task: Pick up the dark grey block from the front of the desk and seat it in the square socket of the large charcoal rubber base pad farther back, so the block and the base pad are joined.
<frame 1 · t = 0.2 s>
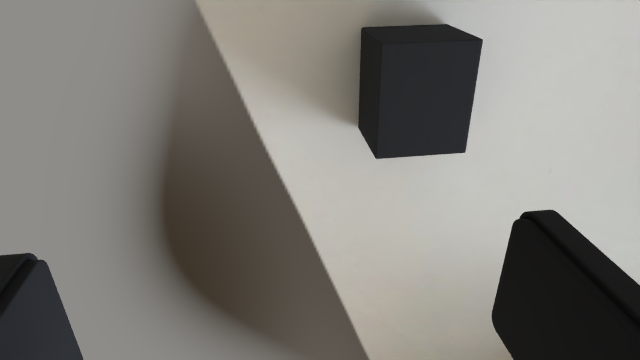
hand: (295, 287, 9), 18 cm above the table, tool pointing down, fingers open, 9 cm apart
dark grey block: (400, 78, 26), on the table
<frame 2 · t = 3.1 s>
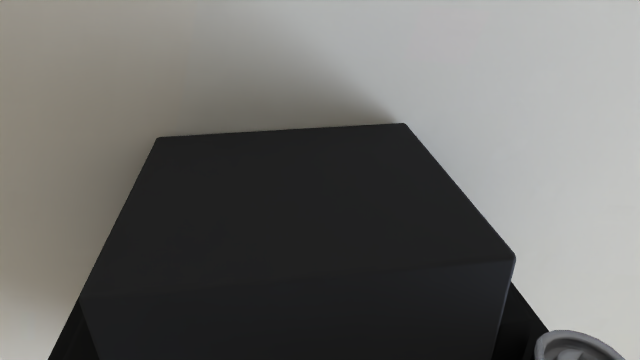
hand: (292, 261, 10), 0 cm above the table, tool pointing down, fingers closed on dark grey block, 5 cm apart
dark grey block: (290, 249, 10), on the table, touching gripper
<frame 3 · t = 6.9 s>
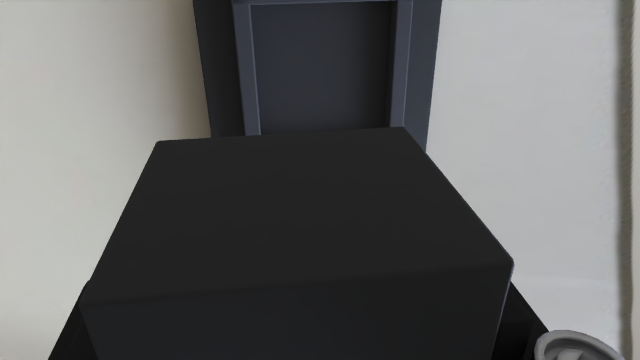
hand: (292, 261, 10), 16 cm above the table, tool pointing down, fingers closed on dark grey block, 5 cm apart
dark grey block: (290, 252, 10), point 15 cm above the table, touching gripper
base pad: (321, 142, 26), on the table
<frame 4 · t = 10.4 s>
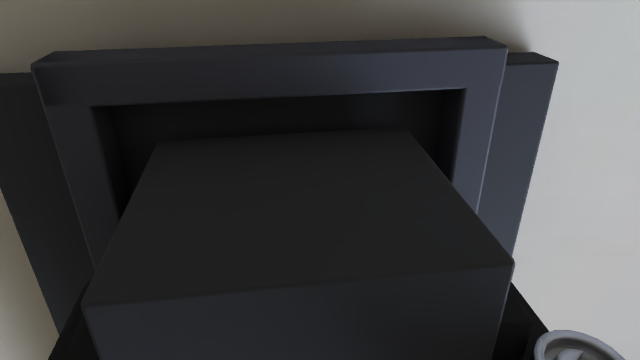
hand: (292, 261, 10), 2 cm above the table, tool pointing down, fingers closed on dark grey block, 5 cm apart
dark grey block: (291, 252, 10), point 2 cm above the table, touching gripper
base pad: (293, 325, 14), on the table
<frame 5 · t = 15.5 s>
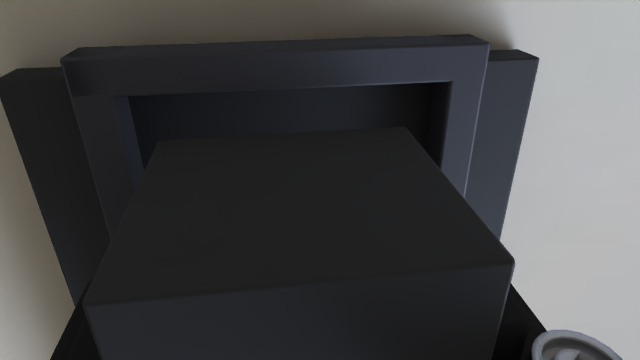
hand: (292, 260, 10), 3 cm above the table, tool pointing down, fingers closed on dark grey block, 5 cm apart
dark grey block: (291, 251, 10), point 2 cm above the table, touching gripper
base pad: (294, 307, 14), on the table
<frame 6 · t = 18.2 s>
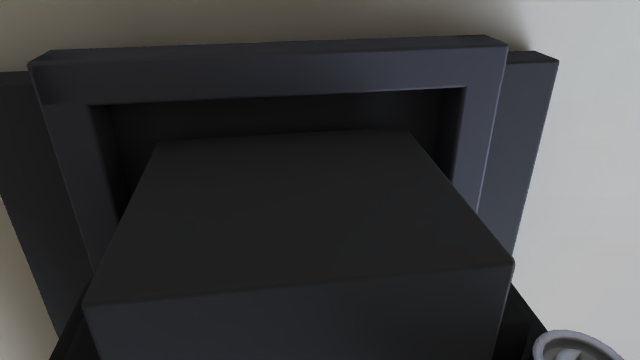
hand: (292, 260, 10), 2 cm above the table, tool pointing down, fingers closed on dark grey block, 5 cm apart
dark grey block: (291, 252, 10), point 1 cm above the table, touching gripper
base pad: (292, 325, 13), on the table
when the fingers open (4 cm above the table, at t = 20.4 s): dark grey block drops 2 cm, resting on base pad.
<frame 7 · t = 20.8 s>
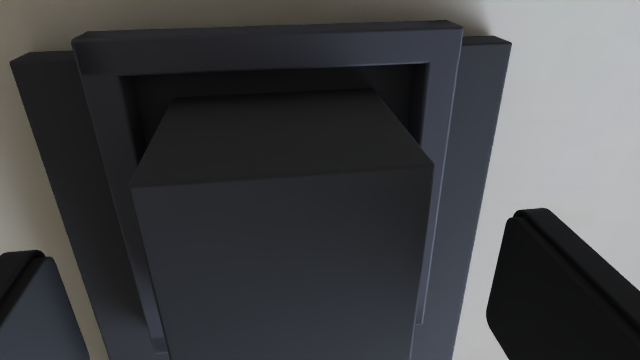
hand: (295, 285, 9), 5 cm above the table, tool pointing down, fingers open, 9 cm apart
dark grey block: (281, 195, 12), point 1 cm above the table, touching base pad
base pad: (288, 281, 15), on the table
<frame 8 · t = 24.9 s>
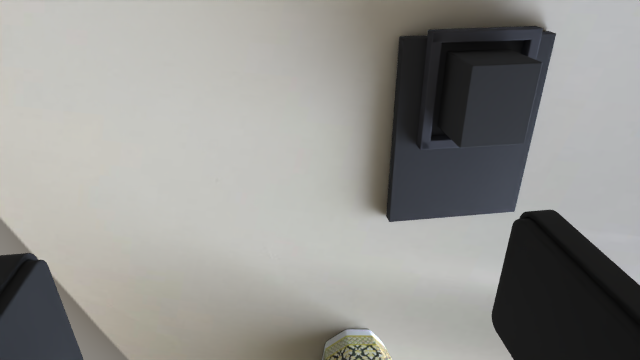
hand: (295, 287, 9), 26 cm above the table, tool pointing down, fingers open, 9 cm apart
dark grey block: (472, 88, 35), point 1 cm above the table, touching base pad
ceramic cup: (340, 355, 49), on the table
base pad: (460, 131, 38), on the table
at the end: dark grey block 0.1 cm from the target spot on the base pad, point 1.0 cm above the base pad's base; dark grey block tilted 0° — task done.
